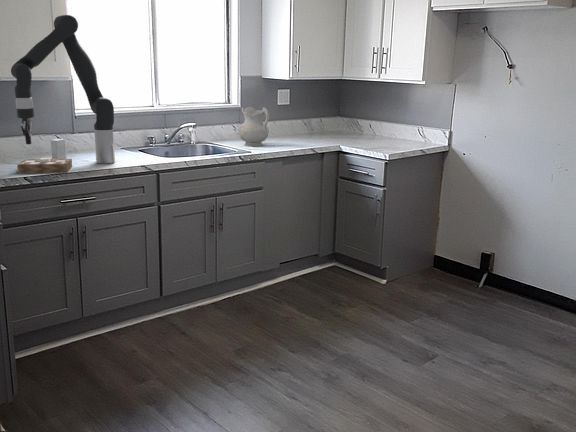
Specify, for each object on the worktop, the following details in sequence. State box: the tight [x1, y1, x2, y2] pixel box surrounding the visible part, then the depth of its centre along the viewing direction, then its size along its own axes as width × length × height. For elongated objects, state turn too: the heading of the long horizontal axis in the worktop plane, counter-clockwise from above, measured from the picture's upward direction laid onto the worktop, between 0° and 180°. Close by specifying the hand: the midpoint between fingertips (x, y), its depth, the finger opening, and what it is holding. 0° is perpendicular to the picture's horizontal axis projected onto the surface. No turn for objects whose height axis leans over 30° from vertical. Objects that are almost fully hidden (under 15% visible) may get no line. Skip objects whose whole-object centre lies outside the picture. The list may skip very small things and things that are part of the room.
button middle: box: [39, 157, 51, 162], centre depth 294 cm, size 4×4×2 cm
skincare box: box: [50, 138, 67, 159], centre depth 313 cm, size 6×4×12 cm
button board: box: [16, 158, 73, 174], centre depth 294 cm, size 22×16×4 cm
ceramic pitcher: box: [237, 105, 270, 147], centre depth 388 cm, size 22×20×25 cm
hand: (28, 144), depth 291 cm, fingers closed
